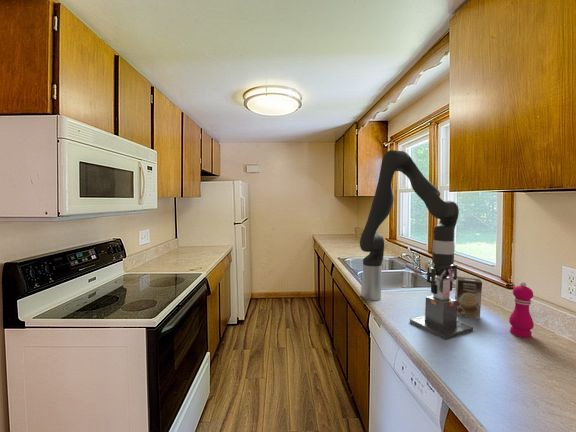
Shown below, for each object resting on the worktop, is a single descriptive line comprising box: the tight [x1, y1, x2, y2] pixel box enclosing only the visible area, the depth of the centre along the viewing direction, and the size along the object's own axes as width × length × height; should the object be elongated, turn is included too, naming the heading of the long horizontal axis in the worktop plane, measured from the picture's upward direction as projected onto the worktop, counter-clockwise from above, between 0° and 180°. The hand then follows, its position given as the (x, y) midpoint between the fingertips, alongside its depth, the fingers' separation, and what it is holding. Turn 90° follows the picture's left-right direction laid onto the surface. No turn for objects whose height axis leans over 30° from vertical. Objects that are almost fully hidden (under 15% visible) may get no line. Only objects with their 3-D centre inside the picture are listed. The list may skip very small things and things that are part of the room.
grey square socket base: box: [409, 294, 474, 341], centre depth 115 cm, size 16×16×12 cm
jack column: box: [433, 276, 451, 301], centre depth 115 cm, size 4×4×18 cm
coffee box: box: [454, 275, 483, 320], centre depth 126 cm, size 9×6×16 cm
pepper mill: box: [508, 281, 535, 339], centre depth 109 cm, size 7×7×20 cm
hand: (441, 292), depth 114 cm, fingers open, 8 cm apart
